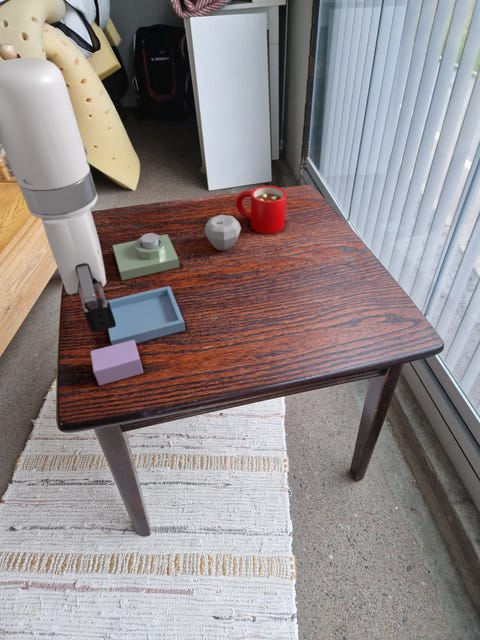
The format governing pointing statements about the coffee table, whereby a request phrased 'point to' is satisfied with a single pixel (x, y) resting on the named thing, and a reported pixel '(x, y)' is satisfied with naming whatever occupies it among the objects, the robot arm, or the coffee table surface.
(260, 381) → the coffee table surface
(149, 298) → the soap dish
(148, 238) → the grey push button
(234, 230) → the apple
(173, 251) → the green push button box
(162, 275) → the coffee table surface
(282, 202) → the mug
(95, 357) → the soap bar
